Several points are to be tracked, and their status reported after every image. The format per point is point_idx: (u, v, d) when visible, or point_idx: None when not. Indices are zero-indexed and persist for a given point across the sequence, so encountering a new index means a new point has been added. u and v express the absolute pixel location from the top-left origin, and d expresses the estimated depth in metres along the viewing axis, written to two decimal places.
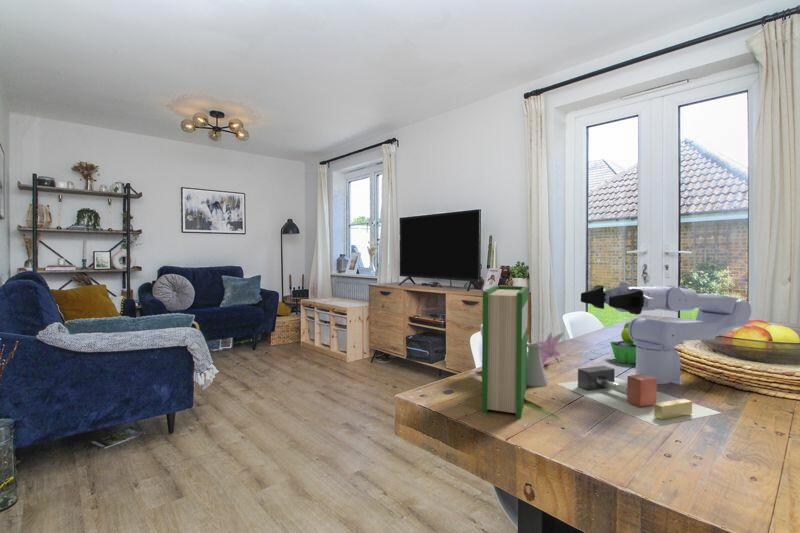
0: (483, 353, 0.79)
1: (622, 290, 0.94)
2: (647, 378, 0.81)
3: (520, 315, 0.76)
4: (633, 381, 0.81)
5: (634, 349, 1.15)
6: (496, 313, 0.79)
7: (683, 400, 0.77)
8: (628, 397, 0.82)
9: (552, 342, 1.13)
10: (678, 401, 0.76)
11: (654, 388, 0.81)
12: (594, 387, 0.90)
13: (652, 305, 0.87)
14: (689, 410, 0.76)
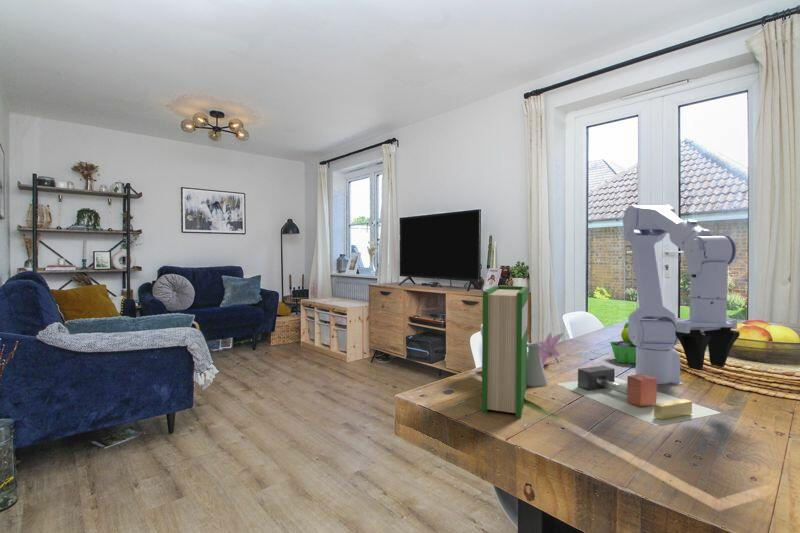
0: (483, 353, 0.79)
1: None
2: (647, 378, 0.81)
3: (520, 315, 0.76)
4: (633, 381, 0.81)
5: (634, 349, 1.15)
6: (496, 313, 0.79)
7: (683, 400, 0.77)
8: (628, 397, 0.82)
9: (552, 342, 1.13)
10: (678, 401, 0.76)
11: (654, 388, 0.81)
12: (594, 387, 0.90)
13: None
14: (689, 410, 0.76)
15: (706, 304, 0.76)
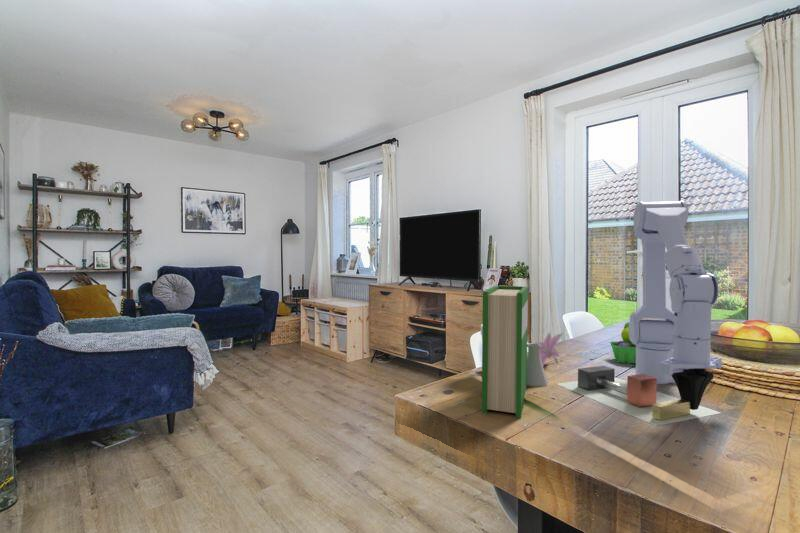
0: (483, 353, 0.79)
1: None
2: (647, 378, 0.81)
3: (520, 315, 0.76)
4: (633, 381, 0.81)
5: (634, 349, 1.15)
6: (496, 313, 0.79)
7: (681, 400, 0.76)
8: (628, 397, 0.82)
9: (551, 342, 1.13)
10: (677, 401, 0.76)
11: (654, 388, 0.81)
12: (594, 387, 0.90)
13: None
14: (687, 410, 0.76)
15: (689, 345, 0.75)
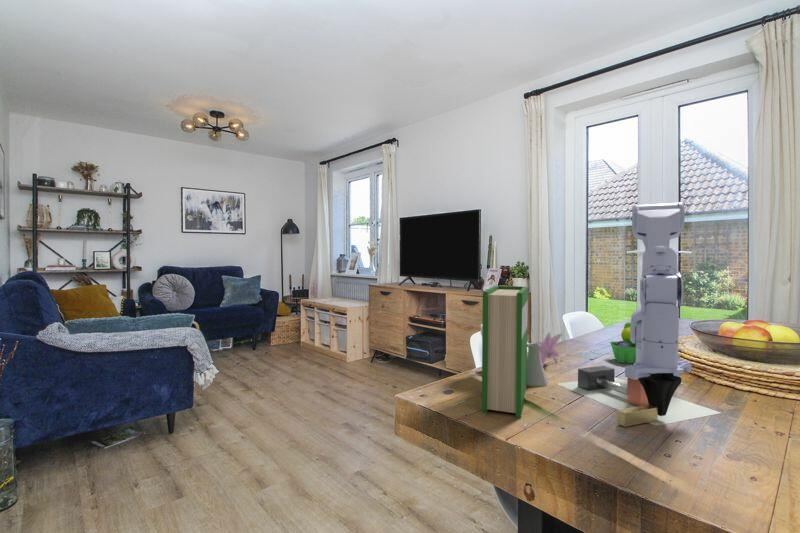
0: (483, 353, 0.79)
1: None
2: None
3: (520, 315, 0.76)
4: (633, 381, 0.81)
5: (634, 349, 1.15)
6: (496, 313, 0.79)
7: (648, 406, 0.73)
8: (628, 397, 0.82)
9: (550, 343, 1.12)
10: (644, 407, 0.73)
11: None
12: (594, 387, 0.90)
13: None
14: (654, 416, 0.73)
15: (656, 348, 0.72)
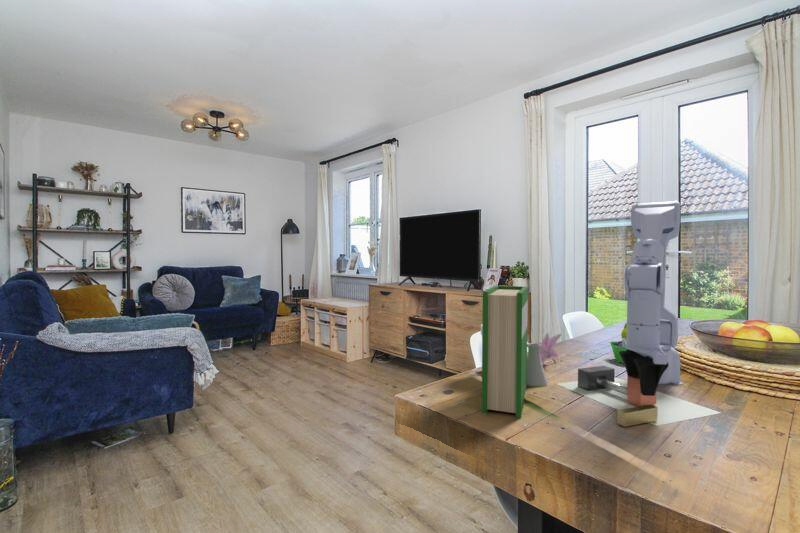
0: (483, 353, 0.79)
1: None
2: None
3: (520, 315, 0.76)
4: (633, 381, 0.81)
5: None
6: (496, 313, 0.79)
7: (648, 406, 0.73)
8: (628, 397, 0.82)
9: (549, 343, 1.12)
10: (643, 407, 0.73)
11: None
12: (594, 387, 0.90)
13: None
14: (654, 416, 0.73)
15: (656, 331, 0.79)
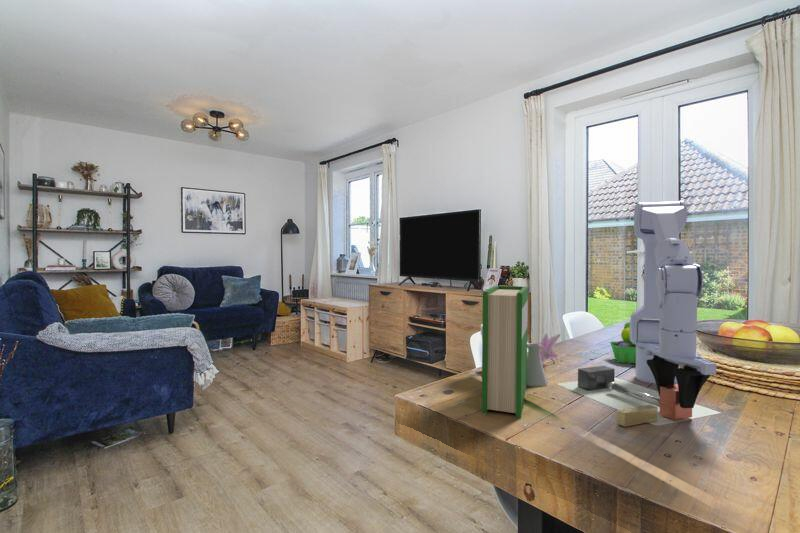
0: (483, 353, 0.79)
1: None
2: None
3: (520, 315, 0.76)
4: (667, 392, 0.74)
5: (634, 349, 1.15)
6: (496, 313, 0.79)
7: (648, 406, 0.73)
8: (661, 409, 0.75)
9: (548, 343, 1.11)
10: (643, 407, 0.73)
11: None
12: (594, 387, 0.90)
13: None
14: (654, 416, 0.73)
15: (695, 337, 0.72)
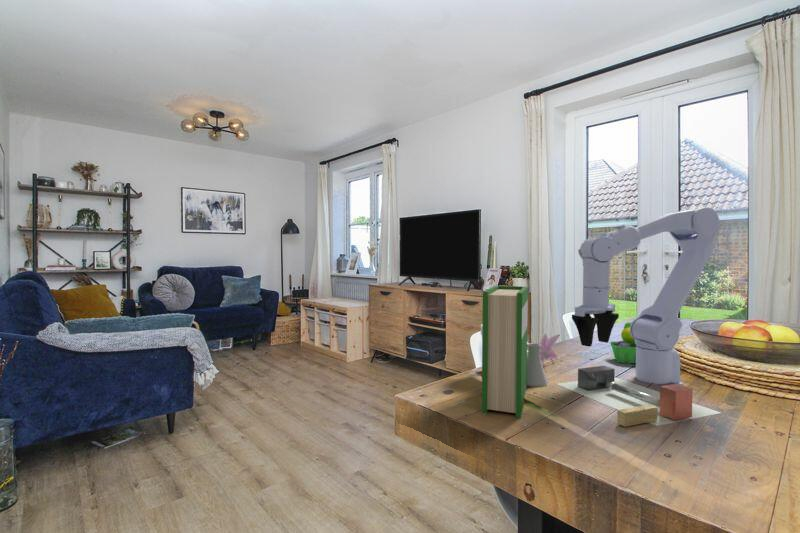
0: (483, 353, 0.79)
1: None
2: (682, 389, 0.74)
3: (520, 315, 0.76)
4: (667, 392, 0.74)
5: (634, 349, 1.15)
6: (496, 313, 0.79)
7: (648, 406, 0.73)
8: (661, 409, 0.75)
9: (548, 343, 1.11)
10: (643, 407, 0.73)
11: (690, 400, 0.74)
12: (594, 387, 0.90)
13: None
14: (654, 416, 0.73)
15: (595, 292, 0.94)
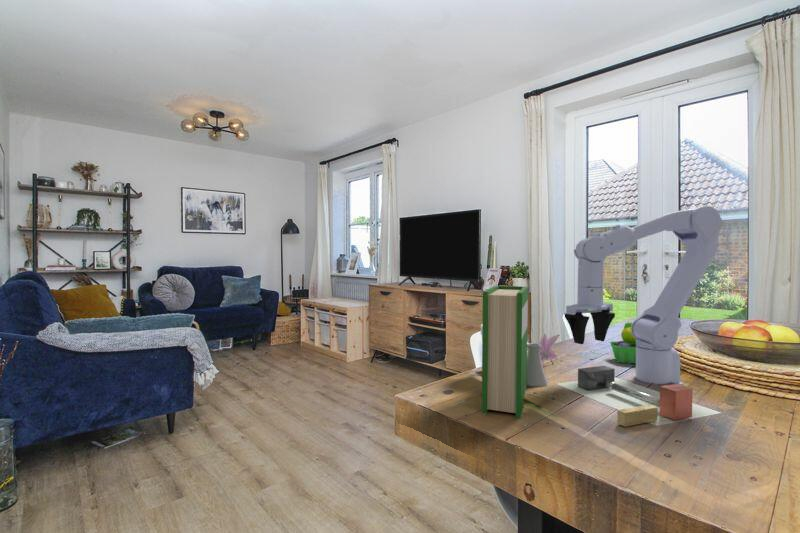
0: (483, 353, 0.79)
1: None
2: (682, 389, 0.74)
3: (520, 315, 0.76)
4: (667, 392, 0.74)
5: (634, 349, 1.15)
6: (496, 313, 0.79)
7: (648, 406, 0.73)
8: (661, 409, 0.75)
9: (547, 344, 1.11)
10: (643, 407, 0.73)
11: (690, 400, 0.74)
12: (594, 387, 0.90)
13: None
14: (654, 416, 0.73)
15: (588, 292, 0.97)
